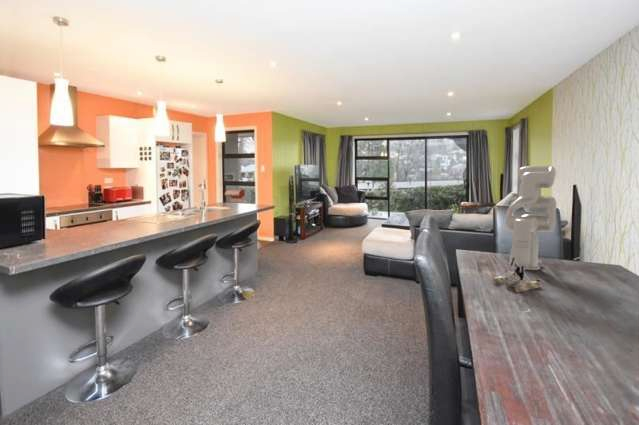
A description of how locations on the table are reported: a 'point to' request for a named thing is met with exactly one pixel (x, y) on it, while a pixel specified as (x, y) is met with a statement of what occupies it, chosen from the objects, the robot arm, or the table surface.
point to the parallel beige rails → (521, 286)
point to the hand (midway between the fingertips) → (519, 279)
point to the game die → (511, 278)
